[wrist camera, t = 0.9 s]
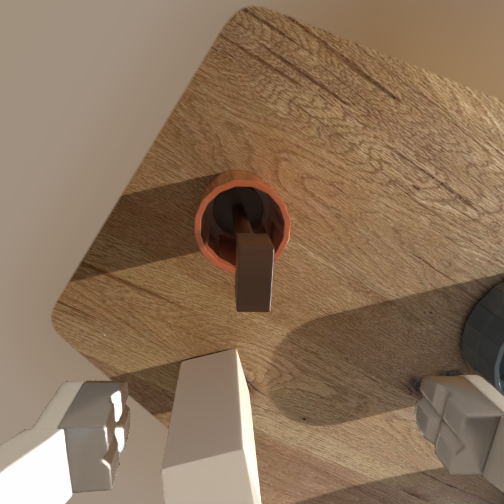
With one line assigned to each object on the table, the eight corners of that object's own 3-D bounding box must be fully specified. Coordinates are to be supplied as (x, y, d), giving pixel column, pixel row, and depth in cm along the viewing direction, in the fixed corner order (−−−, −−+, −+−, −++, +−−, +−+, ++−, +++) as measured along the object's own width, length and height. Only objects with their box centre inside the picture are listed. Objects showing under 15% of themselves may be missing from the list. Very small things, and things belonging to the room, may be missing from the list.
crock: (201, 168, 36) (194, 178, 27) (275, 171, 37) (293, 182, 27) (201, 240, 38) (194, 272, 29) (270, 241, 39) (286, 274, 30)
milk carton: (181, 360, 43) (151, 520, 25) (236, 347, 43) (247, 496, 25) (196, 405, 45) (179, 580, 27) (249, 392, 45) (267, 559, 27)
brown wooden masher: (213, 182, 36) (204, 230, 17) (263, 183, 37) (309, 233, 17) (213, 230, 38) (203, 326, 18) (260, 231, 38) (300, 325, 19)
